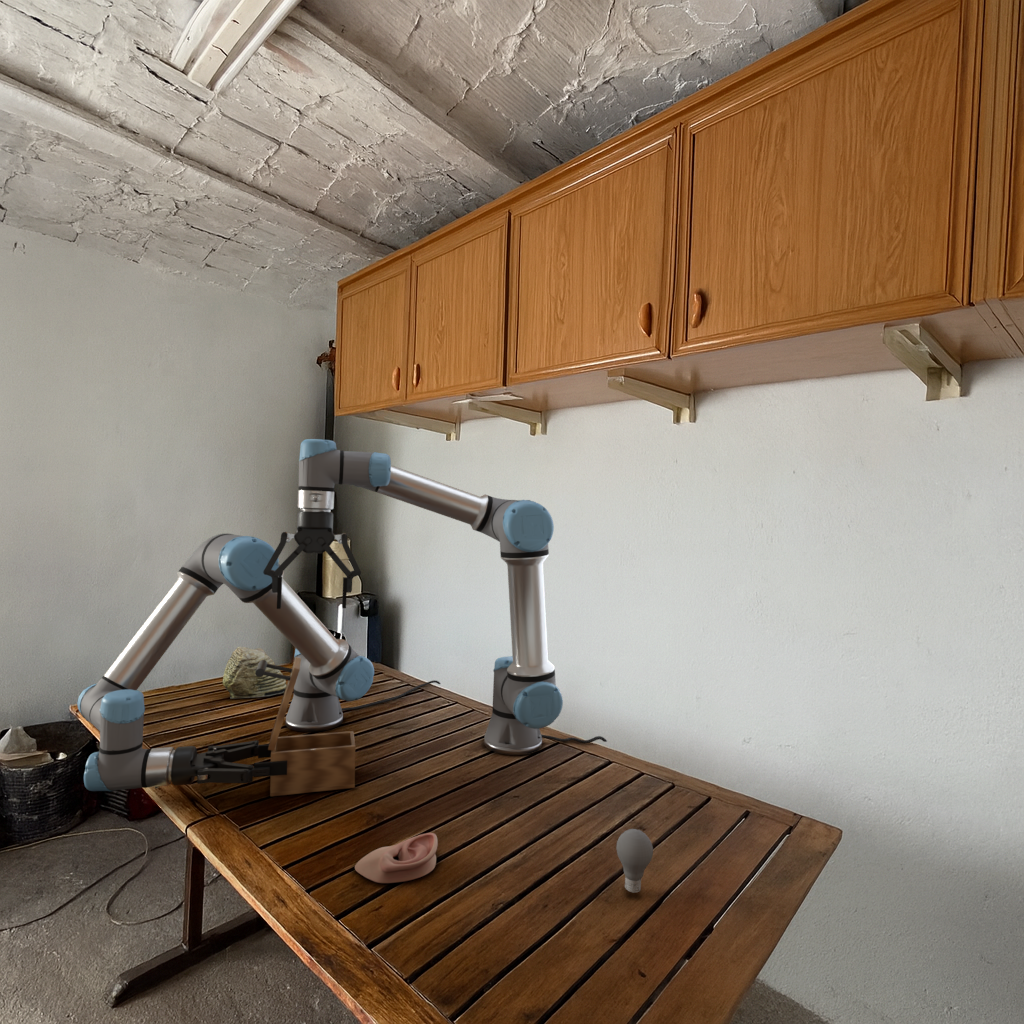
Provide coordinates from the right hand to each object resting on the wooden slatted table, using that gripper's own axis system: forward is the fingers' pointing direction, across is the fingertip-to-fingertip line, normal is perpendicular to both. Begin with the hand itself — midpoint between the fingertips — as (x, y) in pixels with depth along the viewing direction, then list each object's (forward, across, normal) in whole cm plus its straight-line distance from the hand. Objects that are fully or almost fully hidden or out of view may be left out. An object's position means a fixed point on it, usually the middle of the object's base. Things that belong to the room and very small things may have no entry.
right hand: (311, 607), depth 139 cm
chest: (+39, +2, 0) cm, 39 cm away
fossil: (+39, -17, +66) cm, 79 cm away
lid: (+21, -4, 0) cm, 21 cm away
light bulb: (+39, +53, -51) cm, 83 cm away
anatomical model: (+39, +16, -35) cm, 55 cm away
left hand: (+33, -4, 0) cm, 33 cm away
